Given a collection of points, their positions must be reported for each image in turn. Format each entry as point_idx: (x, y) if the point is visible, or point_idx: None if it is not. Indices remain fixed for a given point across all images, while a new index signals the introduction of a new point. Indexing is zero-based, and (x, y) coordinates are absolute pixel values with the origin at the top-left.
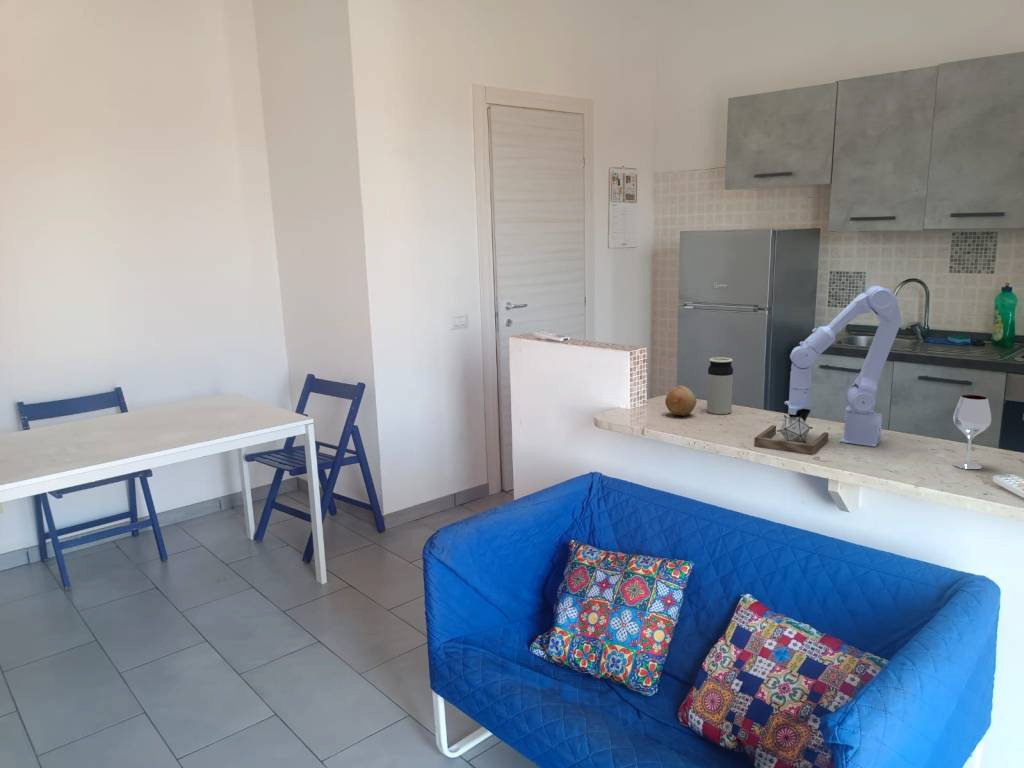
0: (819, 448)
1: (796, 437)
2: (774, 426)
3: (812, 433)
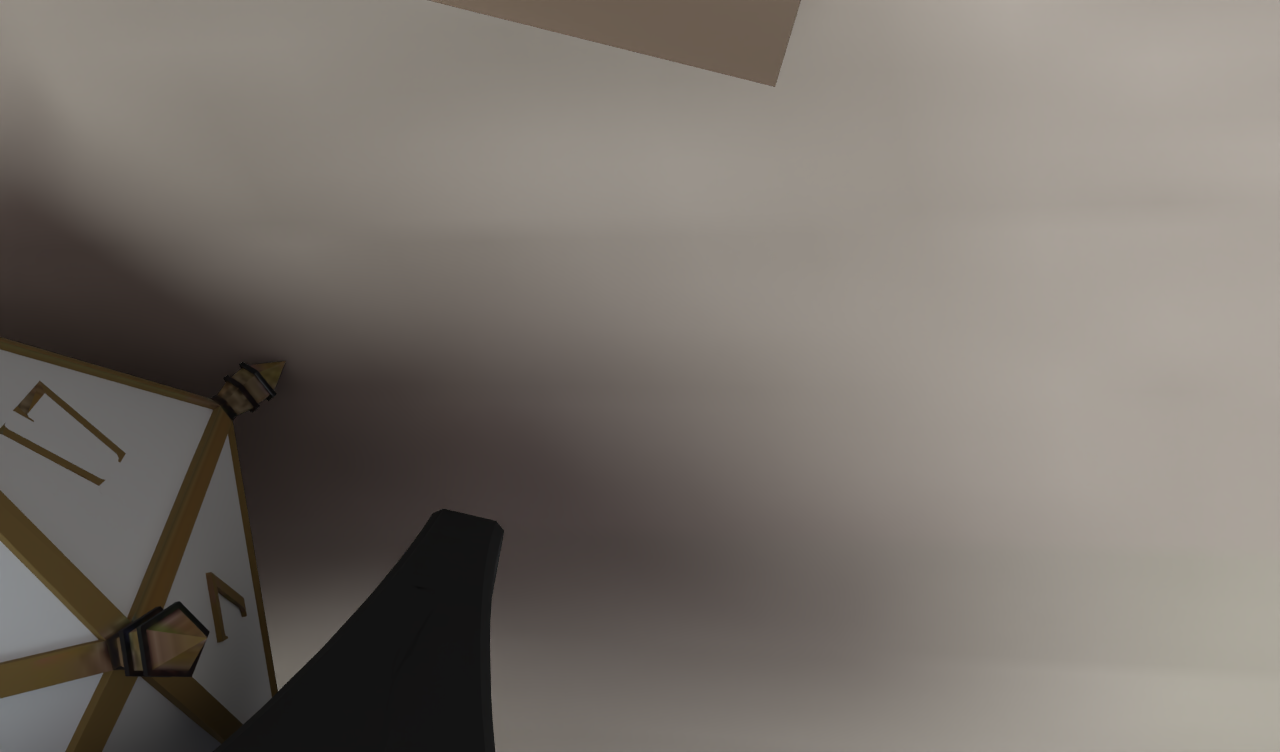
0: None
1: None
2: (648, 23)
3: (1018, 724)
